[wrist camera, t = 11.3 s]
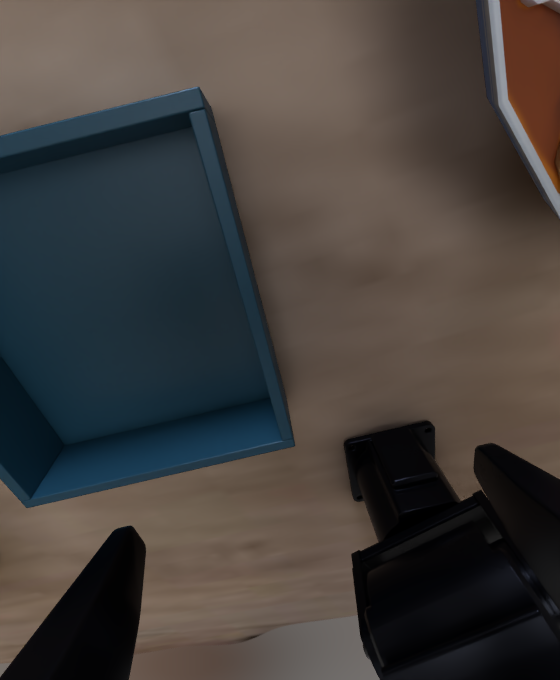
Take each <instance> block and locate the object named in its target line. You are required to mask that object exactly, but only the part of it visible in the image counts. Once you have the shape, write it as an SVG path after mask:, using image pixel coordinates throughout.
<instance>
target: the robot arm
mask: <svg viewBox="0 0 560 680" xmlns="http://www.w3.org/2000/svg"><path fill="white" fill-rule="evenodd" d="M426 428H427V429H426ZM351 445H353V446H351ZM344 450H345V456H346V462H347V468H348V473H349V479H350V485H351V491H352V496H353V499H354V500H355V501H357V502H360V501H364V502H365V505H366V508H367V511H368V513H369V516H370V519H371V522H372V525H373V527H374V530H375V533H376V536H377V539H378V541H379V542H378V543H376V544H374V545H372V546H370V547H368V548H366V549H364V550H362V551H360V550H358V551H356V552H354V553H352V564H353V569H352V570H353V578H354V587H355V595H356V604H357V612H358V620H359V629H360V636H361V640H362V642H363V648H364V652H365V654H366V656H367V658H368V659H370V660H371V662H372V664H373V666H374V668H375V670H376V673H377V675H378V677H379V678H380V680H560V479H558V478H556V477H554V476H553V475H551V474H549V473H547V472H545V471H543V470H542V469H540V468H538V467H536V466H534V465H533V464H531V463H529V462H527V461H525V460H524V459H522V458H520V457H518V456H516V455H515V454H513V453H511V452H509V451H507V450H506V449H504V448H502V447H500V446H498V445H496V444H494V443H488V444H484V445H479V446H477V447H476V448H475V456H474V473H475V475H476V478H477V479H478V481H479V483H480V485H481V487H482V488H483V490H484V492H485V494H486V496H487V497H486V496H485V494H484V493H483V492H482V490H479V491H477V492H475V493H473V496H471V497H469V498H467V499H465V500H463V501H461V500H460V499H459V497H458V496H457V494H456V493H455V491H454V489H453V488H452V486H451V485H450V483H449V482H448V480H447V479H446V477H445V475H444V474H443V472H442V471H441V469H440V468H439V466H438V465H437V463H436V461H435V427H434V426H433V424H432V423H431V422H429V421H425V422H421V423H416V424H412V425H408V426H403V427H399V428H395V429H390V430H386V431H382V432H377V433H373V434H369V435H364V436H360V437H356V438H351V439H348V440H346V441H345V442H344ZM488 499H489V500H488ZM145 557H146V547H145V544H144V542H143V540H142V539H141V537H140V536H139V534H138V533H137V532H136V530H135V529H134V527H132V526H126V527H121V528H118V529H116V530H114V531H113V532H112V533H111V535H110V536H109V537H108V538H107V540H106V541H105V542H104V544H103V545H102V546H101V547H100V549H99V550H98V551H97V553H96V554H95V555H94V557H93V558H92V559H91V560H90V562H89V563H88V564H87V566H86V567H85V568H84V569H83V571H82V572H81V573H80V575H79V576H78V577H77V579H76V580H75V581H74V582H73V584H72V585H71V586H70V588H69V589H68V590H67V592H66V593H65V594H64V595H63V597H62V598H61V599H60V601H59V602H58V603H57V604H56V606H55V607H54V608H53V610H52V611H51V612H50V614H49V615H48V616H47V617H46V619H45V620H44V621H43V623H42V624H41V625H40V626H39V628H38V629H37V630H36V632H35V633H34V634H33V636H32V637H31V638H30V639H29V641H28V642H27V643H26V645H25V646H24V647H23V648H22V650H21V651H20V652H19V654H18V655H17V656H16V658H15V659H14V660H13V661H12V663H11V664H10V665H9V667H8V668H7V669H6V670H5V672H4V673H3V674H2V676H1V677H0V680H129V675H130V670H131V665H132V659H133V654H134V649H135V643H136V638H137V632H138V626H139V620H140V611H141V601H142V590H143V579H144V568H145Z"/></svg>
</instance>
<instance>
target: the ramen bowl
mask: <svg viewBox="0 0 560 680" xmlns="http://www.w3.org/2000/svg"><path fill="white" fill-rule="evenodd" d="M476 7H477V15H478V24H479V33H480V42H481V50H482V59H483V68H484V77H485V85H486V93H487V98H488V100H489V102H490V104H491V106H492V107H493V109H494V111H495V113H496V115H497V116H498V118H499V120H500V122H501V124H502V125H503V127H504V129H505V131H506V133H507V134H508V136H509V138H510V140H511V142H512V143H513V145H514V147H515V149H516V151H517V152H518V154H519V156H520V158H521V160H522V161H523V163H524V165H525V167H526V169H527V170H528V172H529V174H530V176H531V178H532V179H533V181H534V183H535V185H536V187H537V188H538V190H539V192H540V194H541V196H542V197H543V199H544V200H545V201H546V203H547V204H548V205H549V207H550V208H551V209H552V210H553V212H554V213H555V214H556V215H557V217H558V218H559V219H560V0H476Z"/></svg>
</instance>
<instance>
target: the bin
mask: <svg viewBox="0 0 560 680" xmlns="http://www.w3.org/2000/svg"><path fill="white" fill-rule="evenodd" d="M294 446H295V442H294V437H293V431H292V426H291V420H290V415H289V409H288V404H287V398H286V394H285V391H284V387H283V383H282V379H281V375H280V371H279V367H278V364H277V360H276V356H275V352H274V348H273V344H272V340H271V336H270V333H269V329H268V325H267V321H266V317H265V313H264V309H263V306H262V302H261V298H260V294H259V290H258V286H257V282H256V279H255V275H254V271H253V267H252V263H251V259H250V255H249V251H248V248H247V244H246V240H245V236H244V232H243V228H242V224H241V221H240V217H239V213H238V209H237V205H236V201H235V197H234V194H233V190H232V186H231V182H230V178H229V174H228V170H227V167H226V163H225V159H224V155H223V151H222V147H221V143H220V139H219V136H218V132H217V128H216V124H215V120H214V116H213V112H212V109H211V106H210V105H209V103H208V101H207V100H206V98H205V96H204V94H203V93H202V91H201V89H200V88H199V87H194V88H190V89H186V90H182V91H178V92H174V93H170V94H166V95H162V96H158V97H154V98H150V99H146V100H142V101H138V102H134V103H130V104H126V105H122V106H118V107H114V108H110V109H106V110H102V111H98V112H94V113H90V114H86V115H82V116H78V117H74V118H70V119H66V120H62V121H58V122H54V123H50V124H45V125H41V126H37V127H33V128H29V129H25V130H21V131H17V132H13V133H9V134H5V135H1V136H0V479H1V480H2V481H3V482H4V483H5V485H6V486H7V487H8V488H9V489H10V490H11V491H12V492H13V493H14V495H15V496H16V497H17V498H18V499H19V500H20V501H21V502H22V504H23V505H24V506H25V507H26V508H30V507H34V506H38V505H43V504H47V503H51V502H56V501H60V500H64V499H69V498H73V497H77V496H82V495H86V494H90V493H95V492H99V491H103V490H108V489H112V488H116V487H121V486H125V485H129V484H134V483H138V482H142V481H147V480H151V479H155V478H160V477H164V476H168V475H173V474H177V473H181V472H186V471H190V470H194V469H199V468H203V467H207V466H211V465H216V464H220V463H224V462H229V461H233V460H237V459H242V458H246V457H250V456H255V455H259V454H263V453H268V452H272V451H276V450H281V449H285V448H289V447H294Z"/></svg>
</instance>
